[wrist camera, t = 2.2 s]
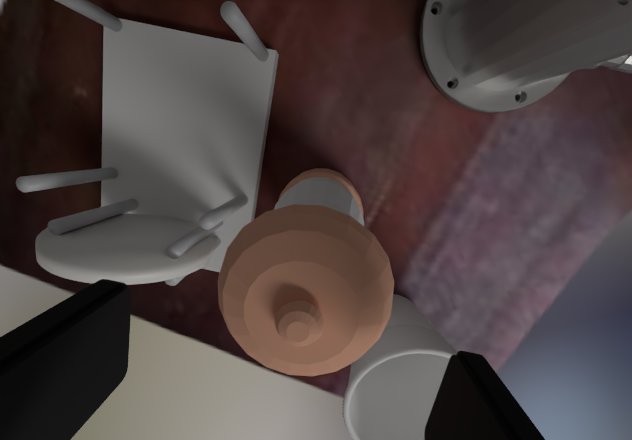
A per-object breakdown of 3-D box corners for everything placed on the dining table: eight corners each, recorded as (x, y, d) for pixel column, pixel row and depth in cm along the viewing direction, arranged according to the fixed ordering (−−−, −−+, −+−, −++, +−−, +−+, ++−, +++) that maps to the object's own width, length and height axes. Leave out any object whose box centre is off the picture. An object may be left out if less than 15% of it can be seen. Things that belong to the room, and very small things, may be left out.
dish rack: (278, 54, 25) (229, -28, 13) (246, 271, 30) (189, 356, 18) (114, 21, 25) (-85, -91, 13) (109, 243, 30) (-38, 309, 18)
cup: (356, 261, 29) (371, 330, 18) (453, 290, 29) (522, 374, 19) (326, 345, 32) (324, 448, 21) (416, 371, 32) (458, 486, 21)
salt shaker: (302, 255, 29) (250, 449, 11) (268, 188, 28) (140, 276, 9) (371, 226, 28) (449, 385, 10) (340, 154, 27) (360, 177, 8)
